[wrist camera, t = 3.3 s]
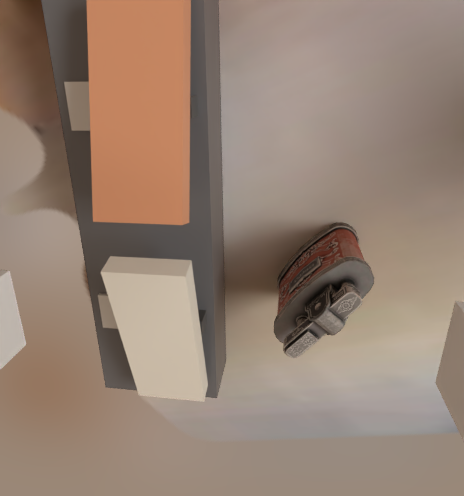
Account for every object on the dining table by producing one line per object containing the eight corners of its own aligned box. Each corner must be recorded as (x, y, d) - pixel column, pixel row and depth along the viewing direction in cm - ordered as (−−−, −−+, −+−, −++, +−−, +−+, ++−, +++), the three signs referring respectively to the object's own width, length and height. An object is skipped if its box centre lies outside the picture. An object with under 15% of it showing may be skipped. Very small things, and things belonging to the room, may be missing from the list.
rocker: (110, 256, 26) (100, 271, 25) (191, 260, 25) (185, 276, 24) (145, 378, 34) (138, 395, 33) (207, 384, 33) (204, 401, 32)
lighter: (336, 213, 32) (353, 266, 23) (367, 240, 32) (395, 303, 23) (268, 279, 35) (259, 349, 26) (297, 303, 35) (298, 380, 26)
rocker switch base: (20, -436, 21) (-92, -648, 15) (208, -475, 20) (169, -724, 14) (127, 352, 40) (97, 401, 34) (225, 360, 39) (213, 413, 33)
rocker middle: (99, -6, 23) (86, -20, 22) (191, -10, 22) (183, -24, 21) (105, 219, 25) (93, 221, 24) (189, 222, 24) (182, 224, 23)
